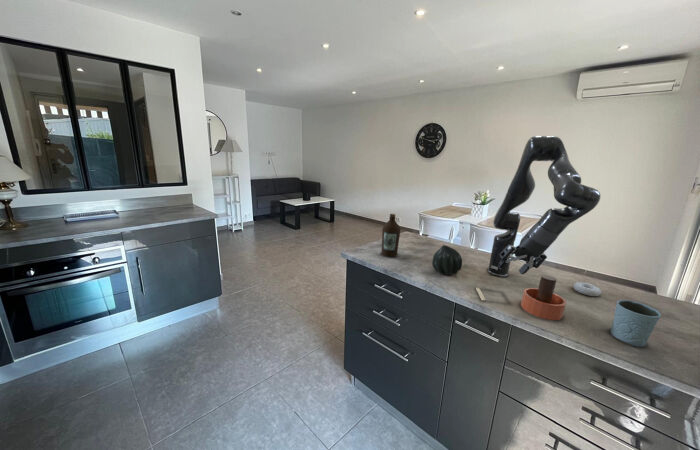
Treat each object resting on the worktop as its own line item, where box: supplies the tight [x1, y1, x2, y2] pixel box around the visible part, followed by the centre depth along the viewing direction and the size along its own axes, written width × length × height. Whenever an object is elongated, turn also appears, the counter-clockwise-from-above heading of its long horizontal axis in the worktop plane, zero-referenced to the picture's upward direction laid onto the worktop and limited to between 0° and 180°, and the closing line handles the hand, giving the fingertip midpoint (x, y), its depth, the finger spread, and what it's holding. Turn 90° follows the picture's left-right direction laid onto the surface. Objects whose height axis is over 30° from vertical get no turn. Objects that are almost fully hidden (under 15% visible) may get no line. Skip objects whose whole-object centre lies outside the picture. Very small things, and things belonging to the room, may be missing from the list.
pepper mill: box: [536, 274, 558, 304], centre depth 103 cm, size 5×5×14 cm
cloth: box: [475, 287, 487, 302], centre depth 115 cm, size 11×11×1 cm
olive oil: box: [381, 213, 401, 258], centre depth 157 cm, size 11×11×25 cm
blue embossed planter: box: [610, 299, 662, 348], centre depth 89 cm, size 10×10×12 cm
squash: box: [431, 244, 463, 276], centre depth 138 cm, size 14×15×15 cm
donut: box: [572, 281, 602, 297], centre depth 123 cm, size 10×4×10 cm
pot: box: [520, 287, 567, 321], centre depth 105 cm, size 14×14×6 cm
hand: (510, 270), depth 97 cm, fingers open, 8 cm apart
